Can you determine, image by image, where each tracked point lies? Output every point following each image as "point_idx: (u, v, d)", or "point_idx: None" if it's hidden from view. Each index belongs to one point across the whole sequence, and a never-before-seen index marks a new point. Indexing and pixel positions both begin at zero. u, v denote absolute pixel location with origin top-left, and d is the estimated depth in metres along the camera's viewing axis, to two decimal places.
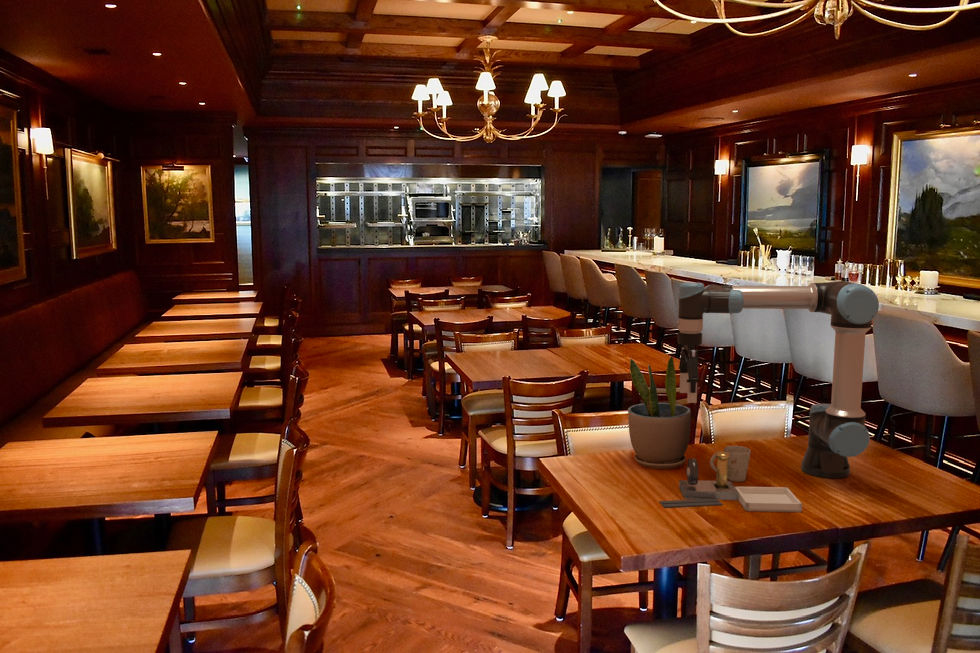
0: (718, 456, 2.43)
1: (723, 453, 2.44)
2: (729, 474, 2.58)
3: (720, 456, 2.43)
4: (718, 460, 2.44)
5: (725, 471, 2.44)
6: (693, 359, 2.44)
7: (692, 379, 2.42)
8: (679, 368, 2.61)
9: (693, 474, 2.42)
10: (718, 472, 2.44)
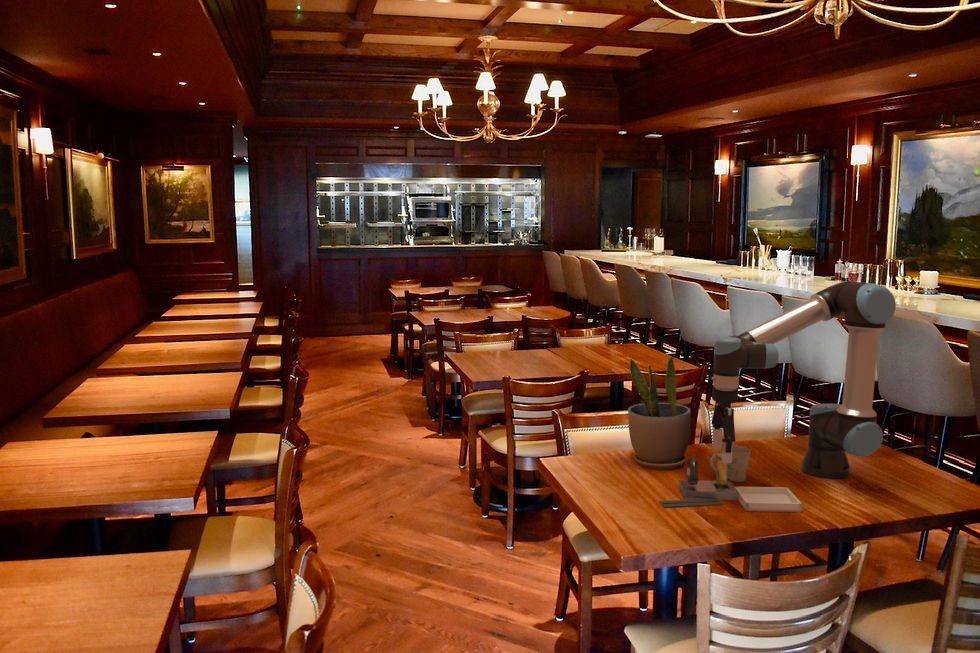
0: (718, 456, 2.43)
1: None
2: (729, 474, 2.58)
3: (720, 456, 2.43)
4: (718, 460, 2.44)
5: (725, 471, 2.44)
6: (729, 418, 2.35)
7: (728, 439, 2.33)
8: (712, 423, 2.52)
9: (693, 474, 2.42)
10: (718, 472, 2.44)
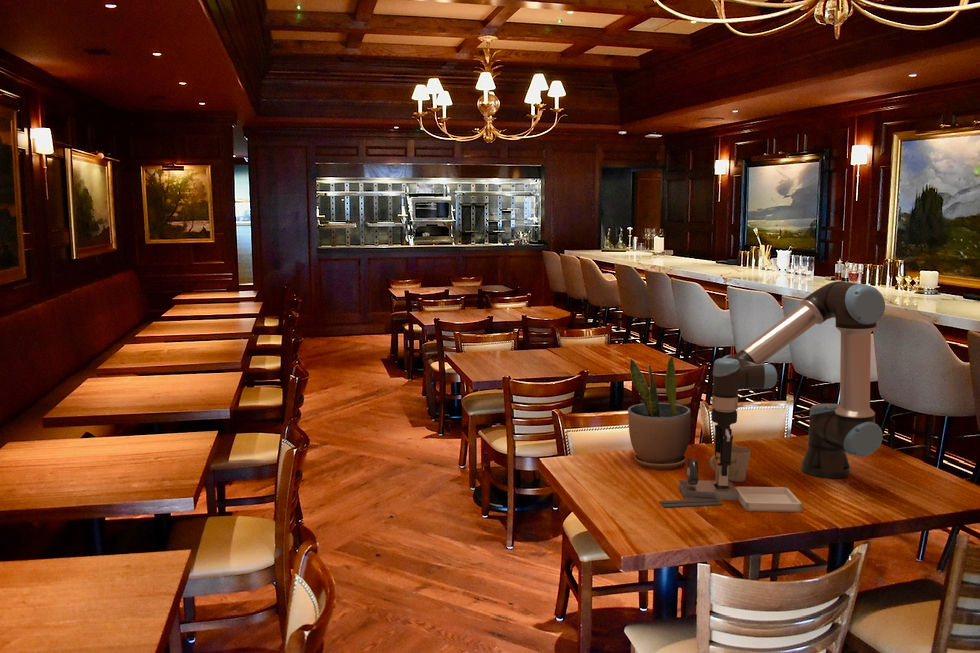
0: (718, 456, 2.43)
1: None
2: (729, 474, 2.58)
3: None
4: (718, 460, 2.44)
5: None
6: (727, 444, 2.38)
7: (724, 463, 2.39)
8: (715, 454, 2.49)
9: (693, 474, 2.42)
10: (718, 472, 2.44)
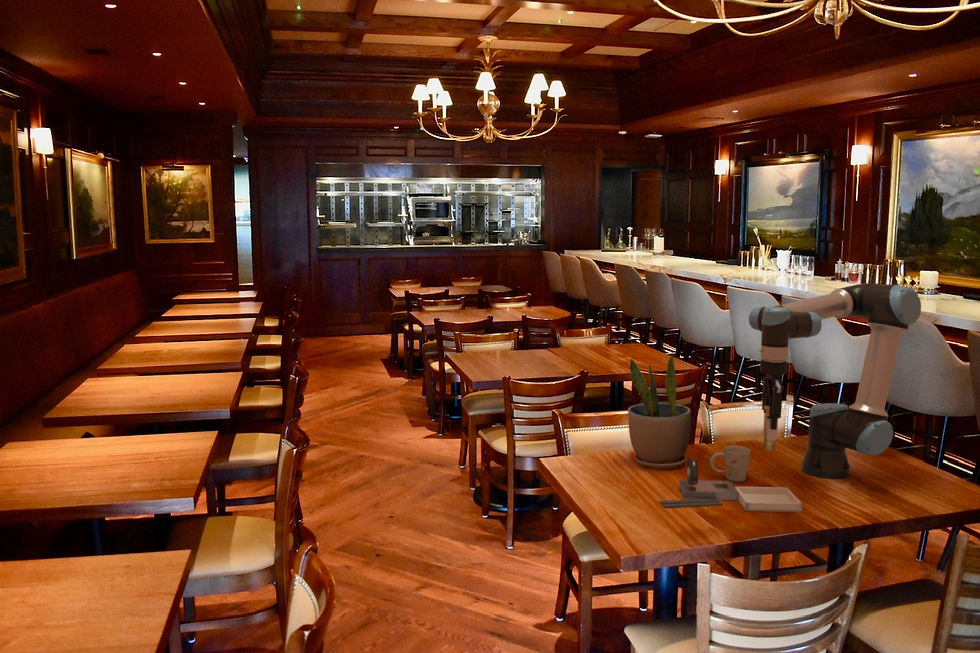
0: (767, 409, 2.33)
1: None
2: (729, 474, 2.58)
3: None
4: (767, 413, 2.34)
5: None
6: (777, 396, 2.28)
7: (774, 415, 2.29)
8: (762, 408, 2.39)
9: (693, 474, 2.42)
10: None
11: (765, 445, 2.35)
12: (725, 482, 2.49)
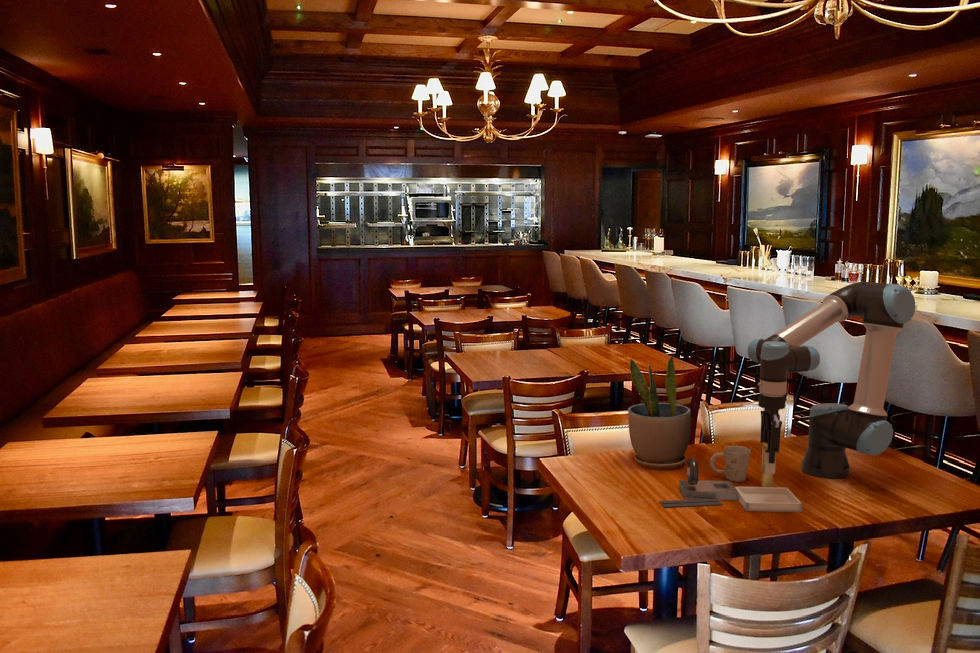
0: (765, 446, 2.35)
1: None
2: (729, 474, 2.58)
3: (767, 446, 2.34)
4: None
5: None
6: (776, 430, 2.29)
7: (772, 450, 2.31)
8: (761, 441, 2.40)
9: (693, 474, 2.42)
10: (765, 463, 2.36)
11: (763, 482, 2.37)
12: (725, 482, 2.49)
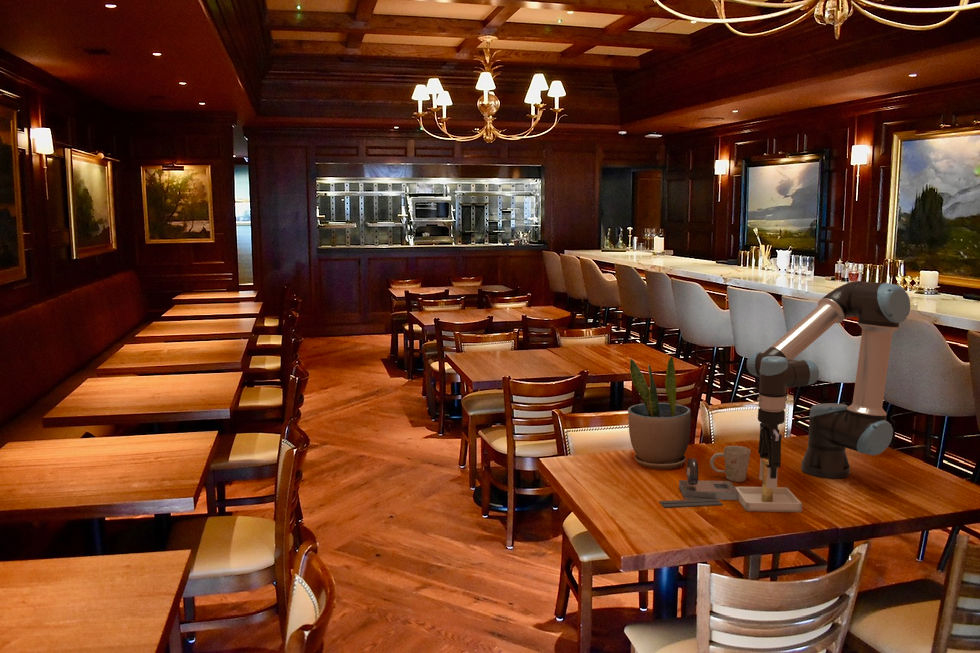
0: (765, 462, 2.35)
1: None
2: (729, 474, 2.58)
3: (767, 462, 2.35)
4: (764, 466, 2.36)
5: None
6: (776, 444, 2.29)
7: (773, 465, 2.29)
8: (759, 452, 2.43)
9: (693, 474, 2.42)
10: (764, 478, 2.37)
11: (763, 497, 2.38)
12: (725, 482, 2.49)
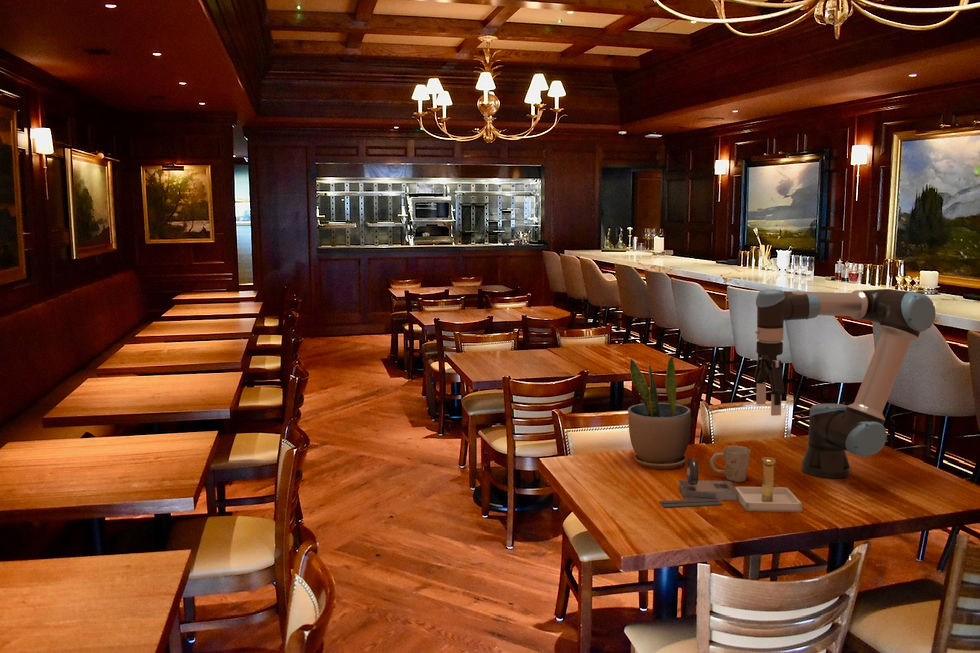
0: (764, 462, 2.35)
1: (769, 459, 2.37)
2: (729, 474, 2.58)
3: (767, 462, 2.35)
4: (764, 466, 2.36)
5: (772, 477, 2.36)
6: (777, 370, 2.33)
7: (778, 391, 2.31)
8: (754, 378, 2.51)
9: (693, 474, 2.42)
10: (764, 478, 2.37)
11: (763, 497, 2.38)
12: (725, 482, 2.49)
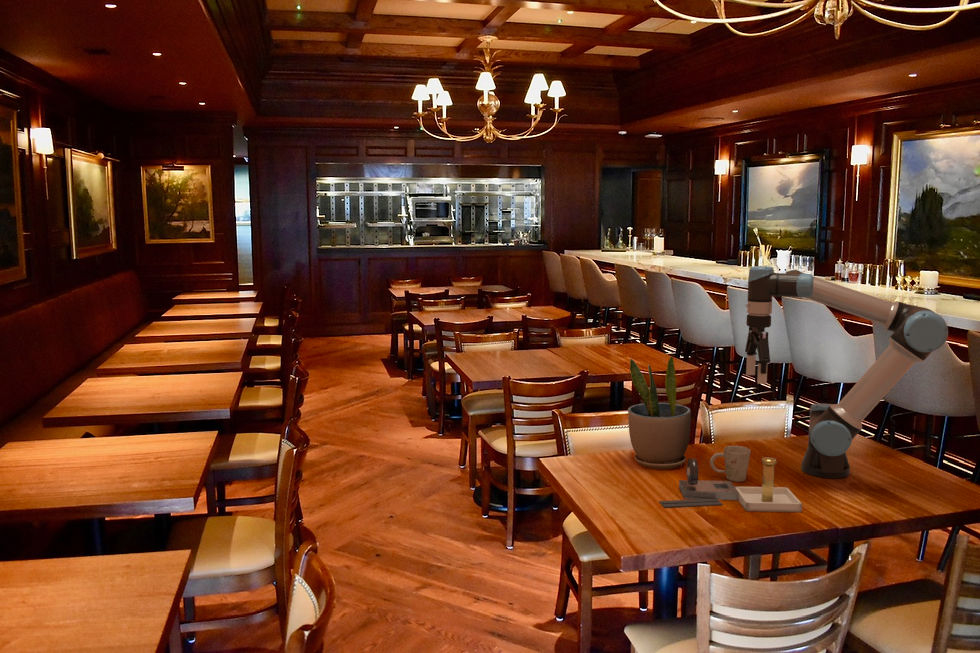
0: (765, 462, 2.35)
1: (769, 459, 2.37)
2: (729, 474, 2.58)
3: (767, 462, 2.35)
4: (764, 466, 2.36)
5: (772, 477, 2.36)
6: (764, 341, 2.49)
7: (763, 360, 2.47)
8: (745, 351, 2.67)
9: (693, 474, 2.42)
10: (764, 478, 2.37)
11: (763, 497, 2.38)
12: (725, 482, 2.49)
